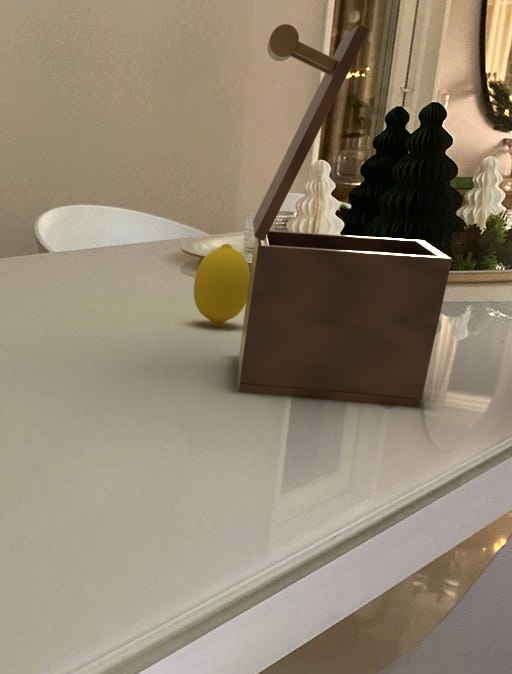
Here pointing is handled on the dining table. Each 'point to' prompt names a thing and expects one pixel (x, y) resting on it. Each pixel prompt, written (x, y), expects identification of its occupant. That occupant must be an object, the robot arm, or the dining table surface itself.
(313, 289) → the chest
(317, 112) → the lid
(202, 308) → the lemon
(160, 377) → the dining table surface
